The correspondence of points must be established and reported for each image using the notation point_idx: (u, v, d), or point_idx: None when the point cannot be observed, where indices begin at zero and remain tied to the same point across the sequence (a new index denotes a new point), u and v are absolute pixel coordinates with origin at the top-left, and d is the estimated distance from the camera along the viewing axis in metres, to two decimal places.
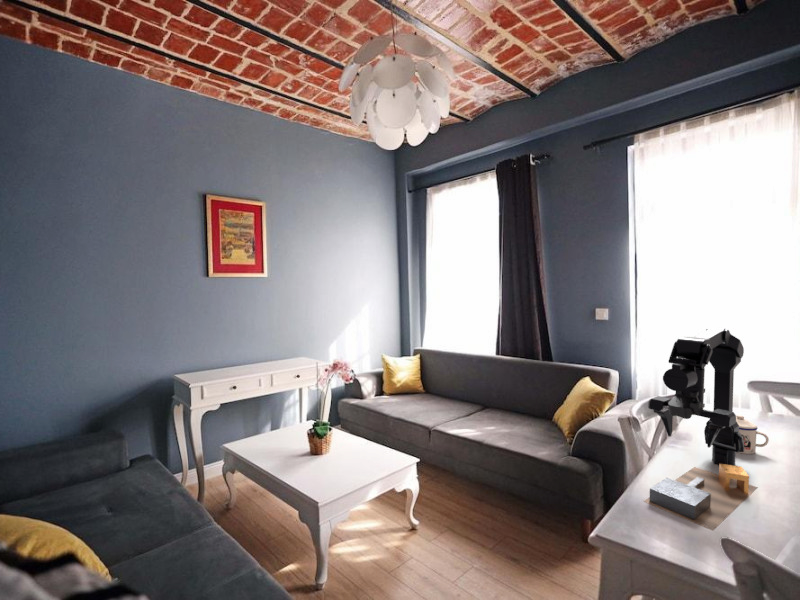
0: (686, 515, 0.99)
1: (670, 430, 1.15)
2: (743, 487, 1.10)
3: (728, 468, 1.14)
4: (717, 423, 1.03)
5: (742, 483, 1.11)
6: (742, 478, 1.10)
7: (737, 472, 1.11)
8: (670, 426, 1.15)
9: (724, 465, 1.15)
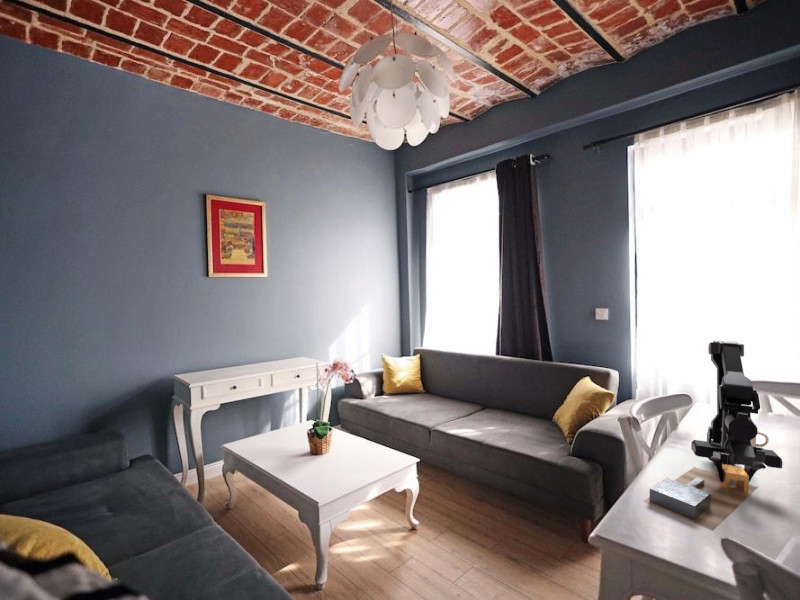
0: (686, 515, 0.99)
1: None
2: (743, 487, 1.10)
3: (728, 468, 1.14)
4: (771, 465, 1.07)
5: (742, 483, 1.11)
6: (742, 478, 1.10)
7: (737, 472, 1.11)
8: None
9: (724, 465, 1.15)
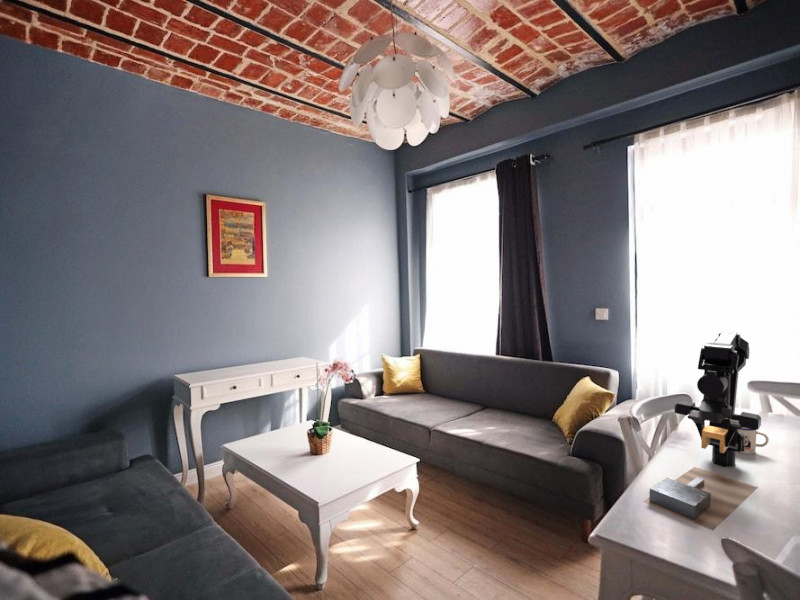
0: (686, 515, 0.99)
1: None
2: (720, 446, 1.13)
3: (711, 428, 1.17)
4: (746, 426, 1.08)
5: None
6: (718, 437, 1.13)
7: (715, 432, 1.14)
8: None
9: (710, 426, 1.18)
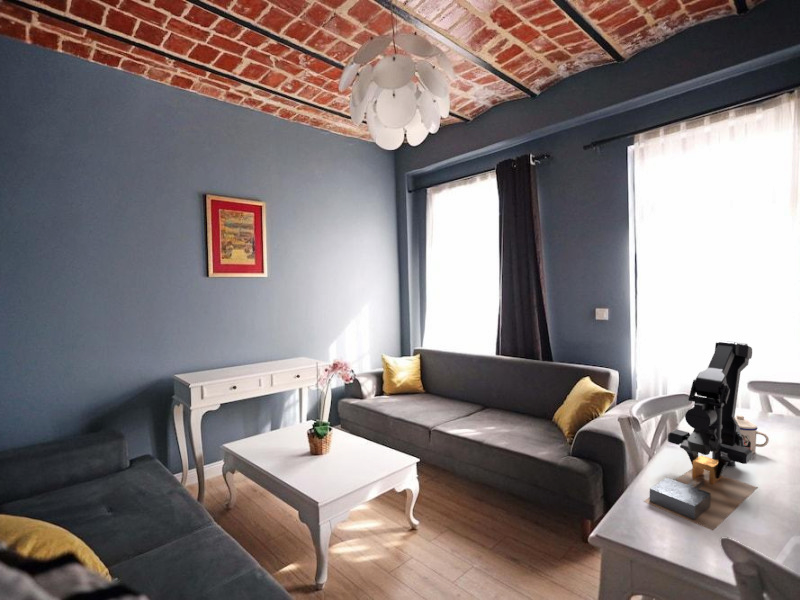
0: (686, 515, 0.99)
1: None
2: None
3: (703, 459, 1.18)
4: (734, 459, 1.10)
5: None
6: (707, 468, 1.15)
7: (705, 463, 1.16)
8: None
9: (703, 457, 1.20)
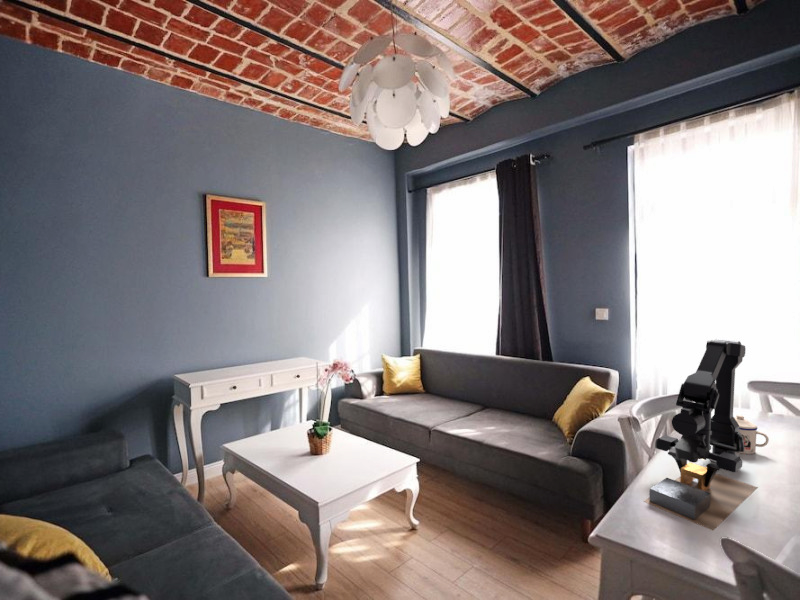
0: (686, 515, 0.99)
1: None
2: None
3: (691, 466, 1.14)
4: (723, 467, 1.05)
5: None
6: (696, 476, 1.10)
7: (694, 471, 1.11)
8: None
9: (692, 464, 1.15)
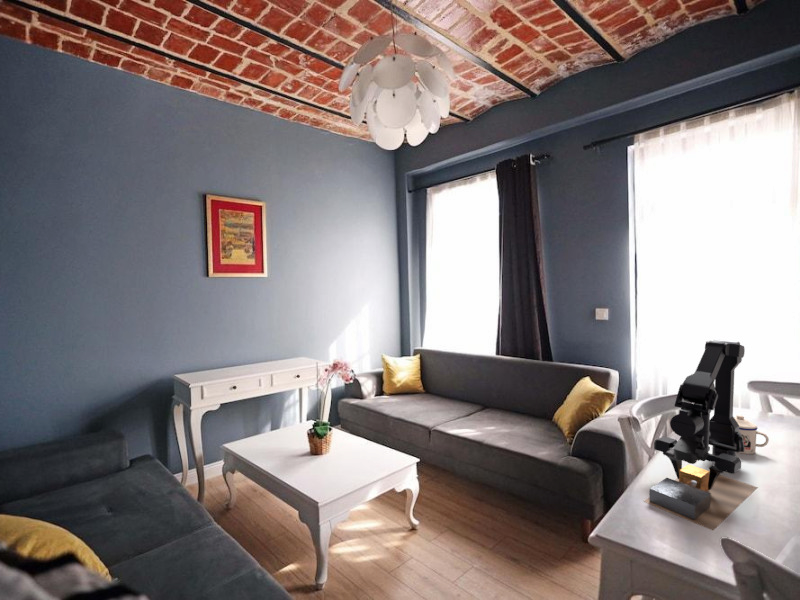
0: (686, 515, 0.99)
1: None
2: None
3: (690, 468, 1.13)
4: (722, 469, 1.04)
5: None
6: (694, 478, 1.10)
7: (693, 473, 1.11)
8: (679, 468, 1.15)
9: (690, 466, 1.15)
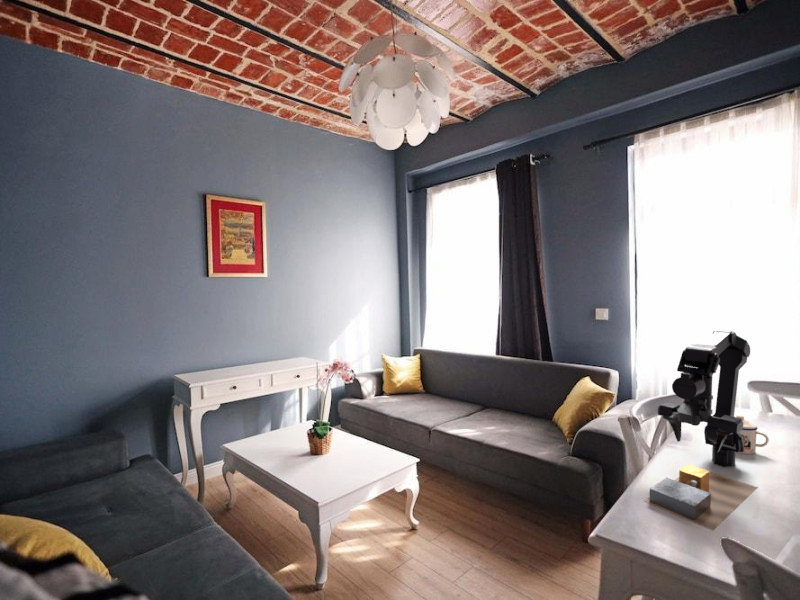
0: (686, 515, 0.99)
1: (679, 435, 1.19)
2: None
3: (690, 468, 1.13)
4: (725, 429, 1.07)
5: None
6: (694, 478, 1.10)
7: (693, 473, 1.11)
8: (679, 431, 1.19)
9: (690, 466, 1.15)
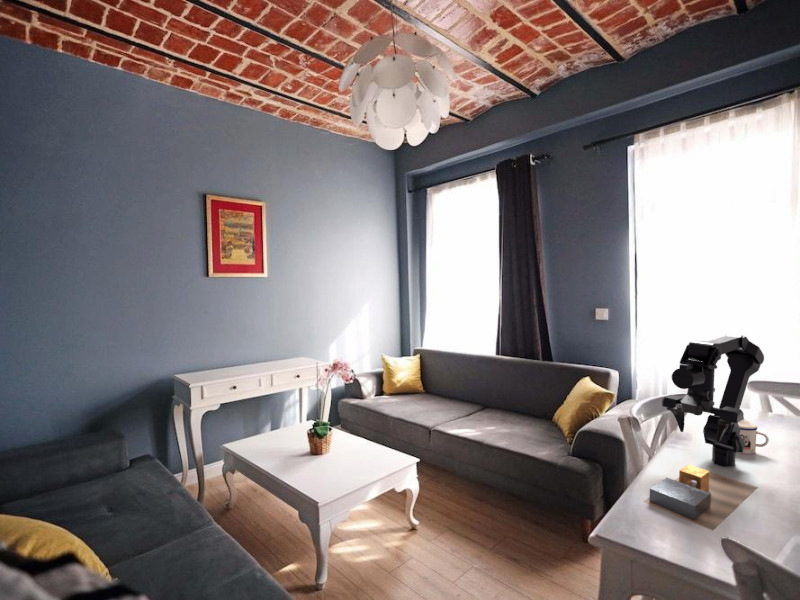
0: (686, 515, 0.99)
1: (682, 426, 1.25)
2: None
3: (690, 468, 1.13)
4: (726, 419, 1.13)
5: None
6: (694, 478, 1.10)
7: (693, 473, 1.11)
8: (682, 422, 1.25)
9: (690, 466, 1.15)
